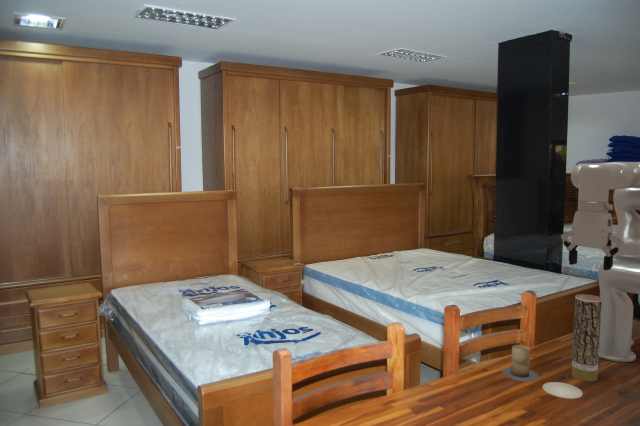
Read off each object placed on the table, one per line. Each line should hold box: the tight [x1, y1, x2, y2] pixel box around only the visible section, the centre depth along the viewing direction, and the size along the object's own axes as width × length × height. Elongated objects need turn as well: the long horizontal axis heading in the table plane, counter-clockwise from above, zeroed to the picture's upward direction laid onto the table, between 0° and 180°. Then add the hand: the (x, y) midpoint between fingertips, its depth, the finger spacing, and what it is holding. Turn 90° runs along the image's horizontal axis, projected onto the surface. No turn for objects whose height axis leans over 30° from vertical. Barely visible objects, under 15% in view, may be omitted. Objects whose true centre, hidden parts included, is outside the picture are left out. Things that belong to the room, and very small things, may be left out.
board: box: [501, 366, 539, 382], centre depth 144 cm, size 12×23×1 cm, turn 35°
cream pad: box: [542, 381, 584, 400], centre depth 139 cm, size 10×10×1 cm
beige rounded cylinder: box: [510, 344, 531, 378], centre depth 149 cm, size 5×5×8 cm
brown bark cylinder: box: [571, 293, 602, 382], centre depth 146 cm, size 7×7×25 cm
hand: (589, 266), depth 144 cm, fingers open, 9 cm apart
